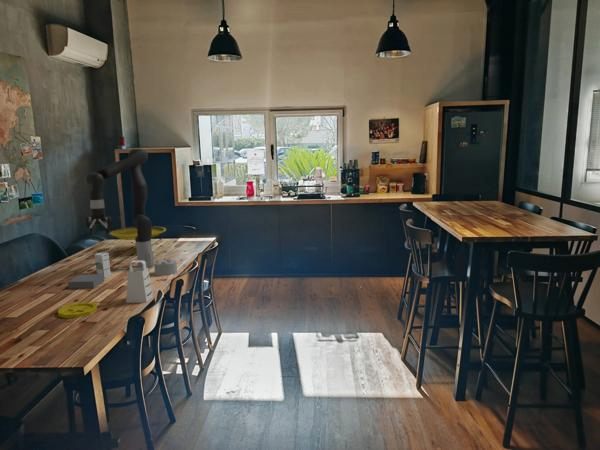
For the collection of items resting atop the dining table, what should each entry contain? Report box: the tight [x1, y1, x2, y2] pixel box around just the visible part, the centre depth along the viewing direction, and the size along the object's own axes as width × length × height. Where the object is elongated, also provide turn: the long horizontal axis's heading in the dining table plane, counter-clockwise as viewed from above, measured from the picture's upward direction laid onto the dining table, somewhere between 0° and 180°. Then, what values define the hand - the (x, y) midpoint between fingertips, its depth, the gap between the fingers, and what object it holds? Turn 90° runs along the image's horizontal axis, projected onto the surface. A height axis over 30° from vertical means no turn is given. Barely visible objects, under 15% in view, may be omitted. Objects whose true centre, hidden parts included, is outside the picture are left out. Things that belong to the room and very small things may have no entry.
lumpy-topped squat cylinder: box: [153, 257, 178, 277], centre depth 288 cm, size 10×13×9 cm
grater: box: [125, 259, 154, 304], centre depth 240 cm, size 10×10×20 cm
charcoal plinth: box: [67, 273, 105, 290], centre depth 267 cm, size 14×14×4 cm
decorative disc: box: [57, 301, 98, 319], centre depth 224 cm, size 17×18×2 cm
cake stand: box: [109, 225, 167, 254], centre depth 348 cm, size 40×40×15 cm
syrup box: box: [94, 252, 111, 279], centre depth 281 cm, size 6×6×14 cm
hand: (100, 234), depth 278 cm, fingers open, 8 cm apart
